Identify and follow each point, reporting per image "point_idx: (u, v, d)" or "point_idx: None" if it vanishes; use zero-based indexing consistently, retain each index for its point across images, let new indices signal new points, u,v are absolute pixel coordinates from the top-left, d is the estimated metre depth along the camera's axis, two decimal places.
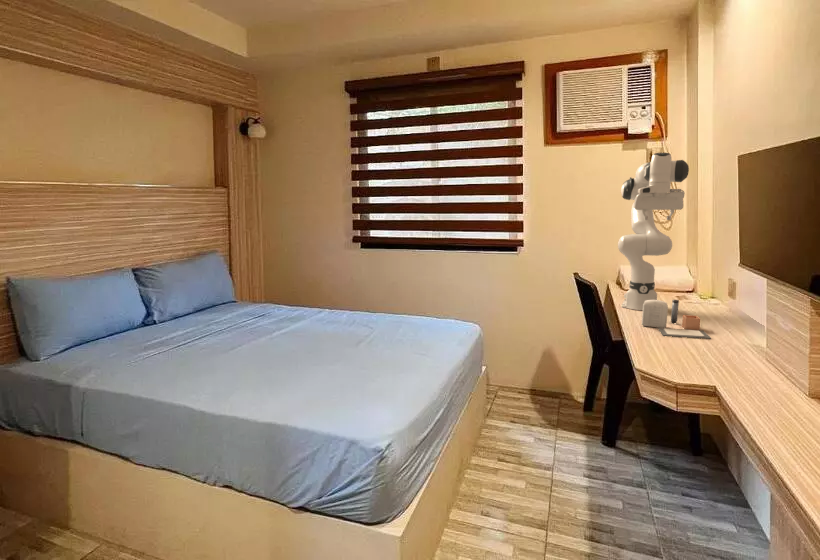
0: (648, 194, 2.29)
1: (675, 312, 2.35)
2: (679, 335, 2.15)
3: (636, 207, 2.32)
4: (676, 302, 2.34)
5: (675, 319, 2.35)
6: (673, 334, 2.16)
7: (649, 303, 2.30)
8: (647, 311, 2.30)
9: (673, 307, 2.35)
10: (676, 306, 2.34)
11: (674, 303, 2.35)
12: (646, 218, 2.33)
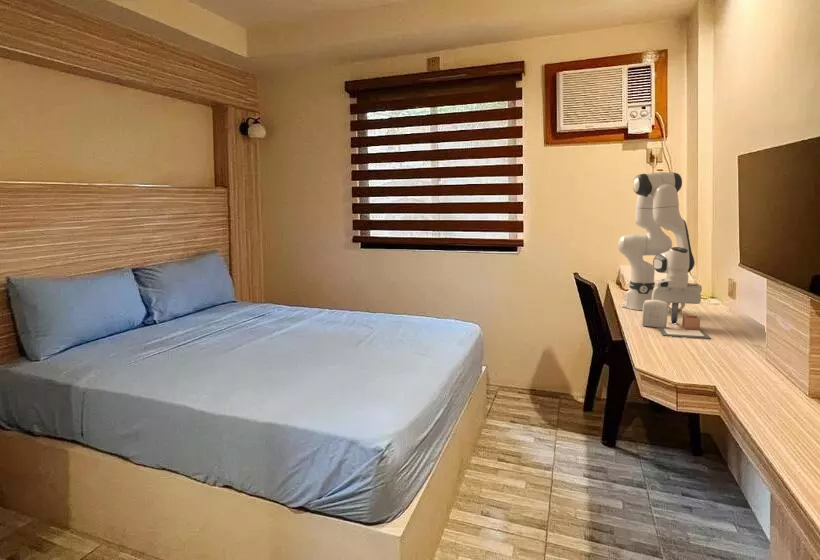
0: (666, 288, 2.33)
1: (675, 312, 2.35)
2: (679, 335, 2.15)
3: None
4: None
5: (675, 319, 2.35)
6: (673, 334, 2.16)
7: (649, 303, 2.30)
8: (647, 311, 2.30)
9: (673, 307, 2.35)
10: (676, 306, 2.34)
11: (674, 303, 2.35)
12: (670, 310, 2.36)
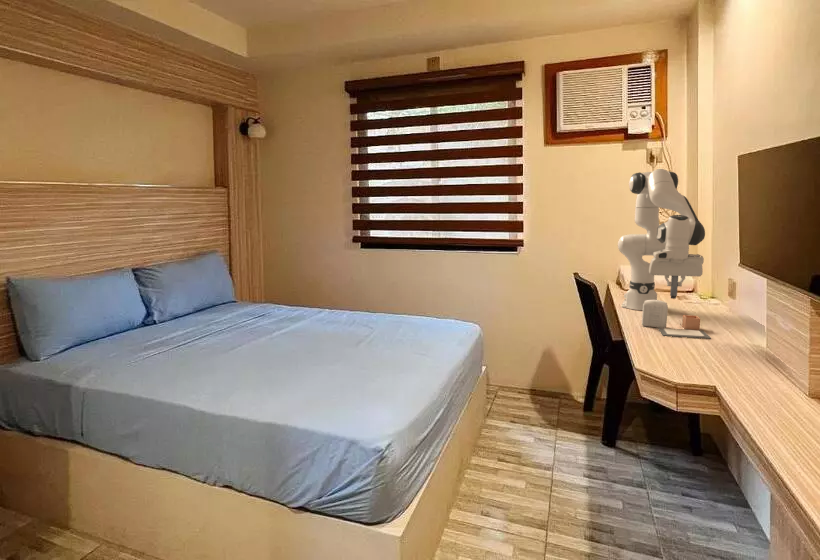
0: (664, 259, 2.14)
1: (675, 285, 2.16)
2: (679, 335, 2.15)
3: (651, 272, 2.17)
4: None
5: (675, 293, 2.16)
6: (673, 334, 2.16)
7: (649, 303, 2.30)
8: (647, 311, 2.30)
9: (672, 280, 2.16)
10: (676, 279, 2.15)
11: (673, 276, 2.15)
12: (669, 284, 2.17)
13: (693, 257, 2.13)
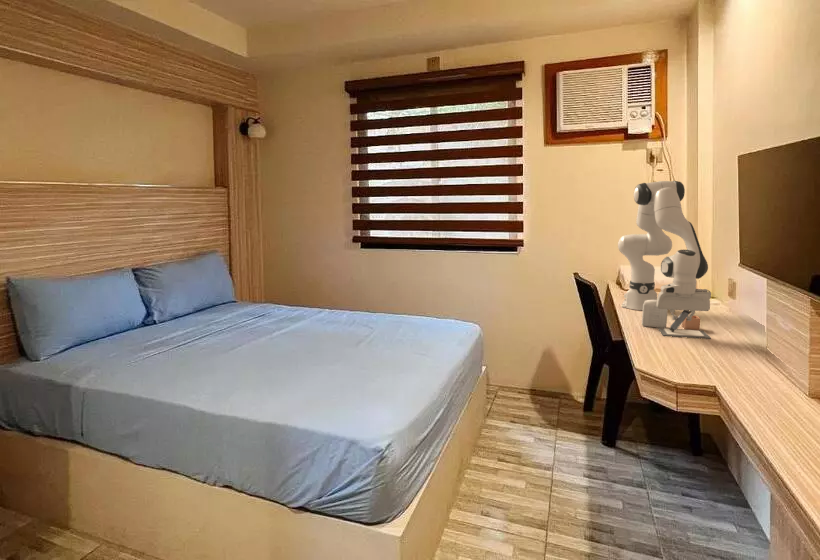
0: (672, 294, 2.15)
1: (680, 321, 2.17)
2: (679, 335, 2.15)
3: (659, 306, 2.18)
4: (687, 312, 2.16)
5: (675, 327, 2.18)
6: (673, 334, 2.16)
7: (649, 303, 2.30)
8: (647, 311, 2.30)
9: (681, 315, 2.17)
10: (685, 316, 2.16)
11: (685, 312, 2.16)
12: (674, 318, 2.18)
13: (700, 292, 2.14)
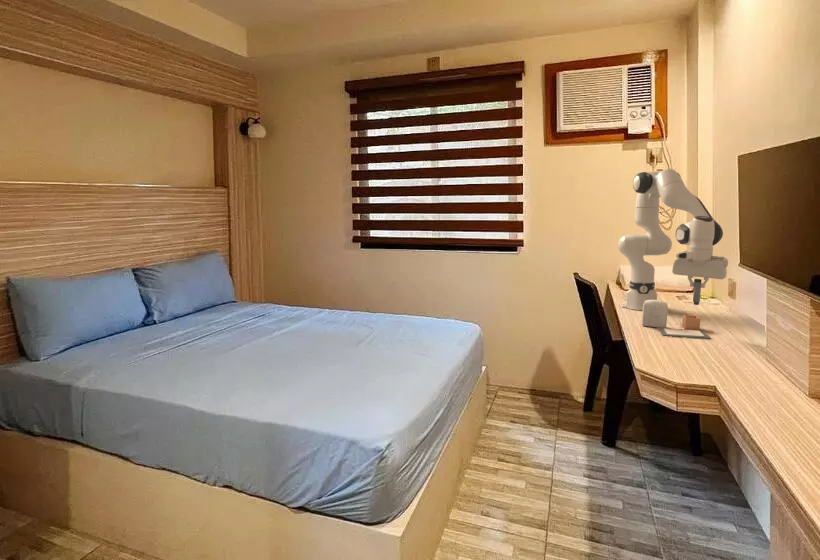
0: (685, 260, 2.17)
1: (696, 292, 2.17)
2: (679, 335, 2.15)
3: (673, 272, 2.22)
4: (697, 281, 2.16)
5: (696, 300, 2.18)
6: (673, 334, 2.16)
7: (649, 303, 2.30)
8: (647, 311, 2.30)
9: (694, 287, 2.18)
10: (697, 286, 2.16)
11: (695, 282, 2.17)
12: (691, 285, 2.18)
13: (716, 259, 2.11)
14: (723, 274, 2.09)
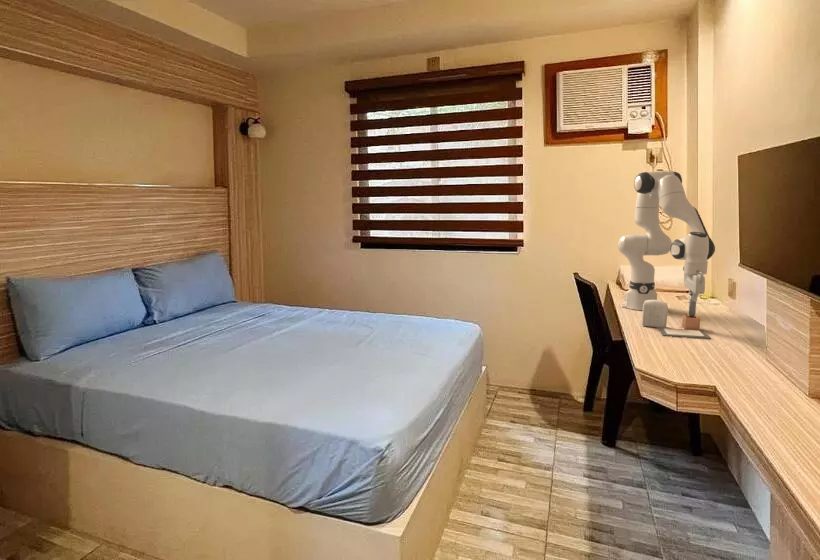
0: (685, 272, 2.28)
1: (689, 304, 2.25)
2: (679, 335, 2.15)
3: (684, 284, 2.33)
4: None
5: (689, 312, 2.26)
6: (673, 334, 2.16)
7: (649, 303, 2.30)
8: (647, 311, 2.30)
9: None
10: None
11: None
12: None
13: (698, 274, 2.17)
14: (695, 288, 2.15)
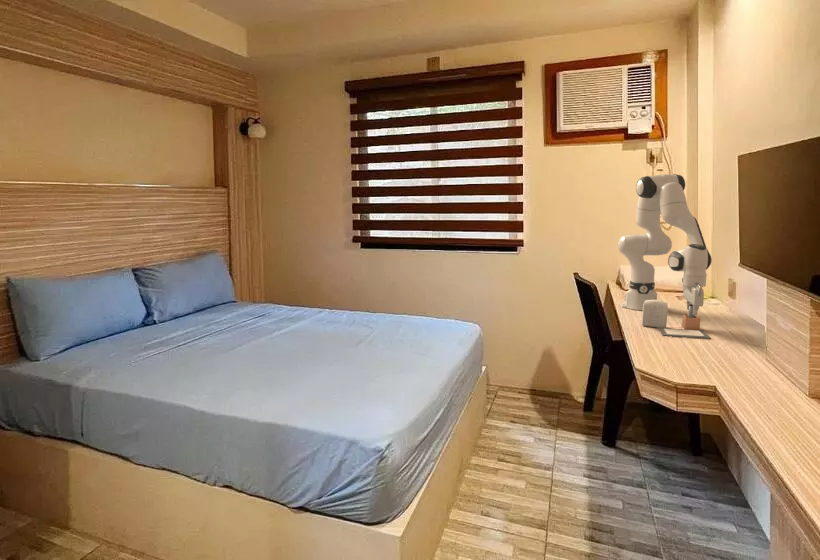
0: (684, 284, 2.29)
1: (688, 315, 2.26)
2: (679, 335, 2.15)
3: (683, 295, 2.34)
4: (689, 305, 2.26)
5: None
6: (673, 334, 2.16)
7: (649, 303, 2.30)
8: (647, 311, 2.30)
9: None
10: (689, 309, 2.26)
11: None
12: (687, 308, 2.30)
13: (696, 287, 2.18)
14: (694, 301, 2.16)
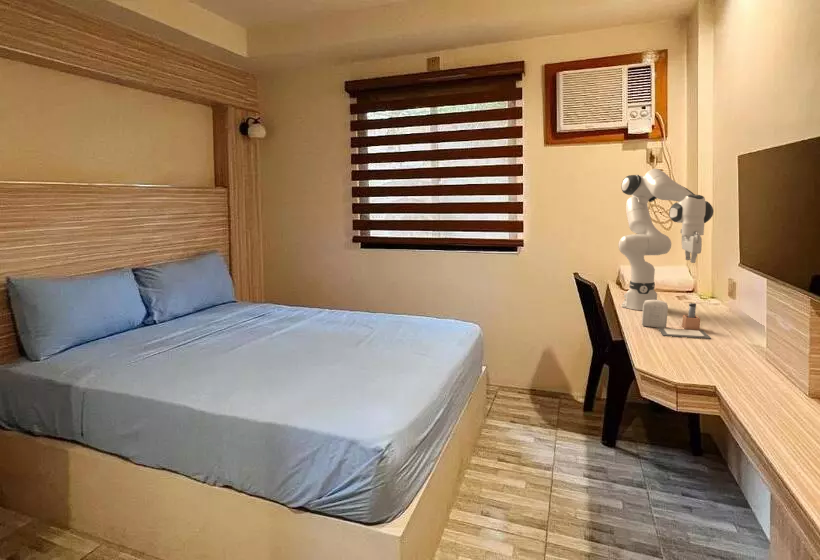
0: (683, 235, 2.35)
1: (688, 315, 2.26)
2: (679, 335, 2.15)
3: (682, 246, 2.40)
4: (689, 305, 2.26)
5: None
6: (673, 334, 2.16)
7: (649, 303, 2.30)
8: (647, 311, 2.30)
9: None
10: (689, 309, 2.26)
11: None
12: (685, 258, 2.36)
13: (695, 235, 2.24)
14: (692, 248, 2.22)
